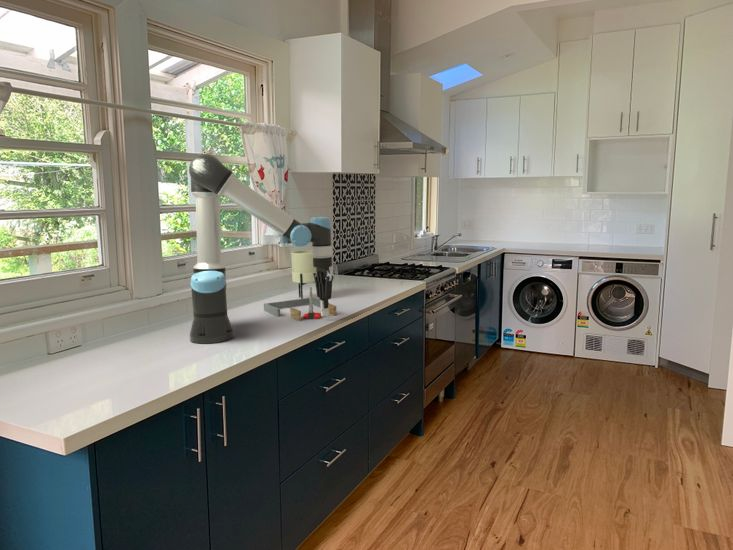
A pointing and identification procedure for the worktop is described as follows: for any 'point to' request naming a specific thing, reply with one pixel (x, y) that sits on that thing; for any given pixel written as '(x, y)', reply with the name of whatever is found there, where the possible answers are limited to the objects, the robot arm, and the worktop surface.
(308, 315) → the tow hook
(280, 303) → the grey piece
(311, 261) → the planter
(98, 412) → the worktop surface
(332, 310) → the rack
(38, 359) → the worktop surface
